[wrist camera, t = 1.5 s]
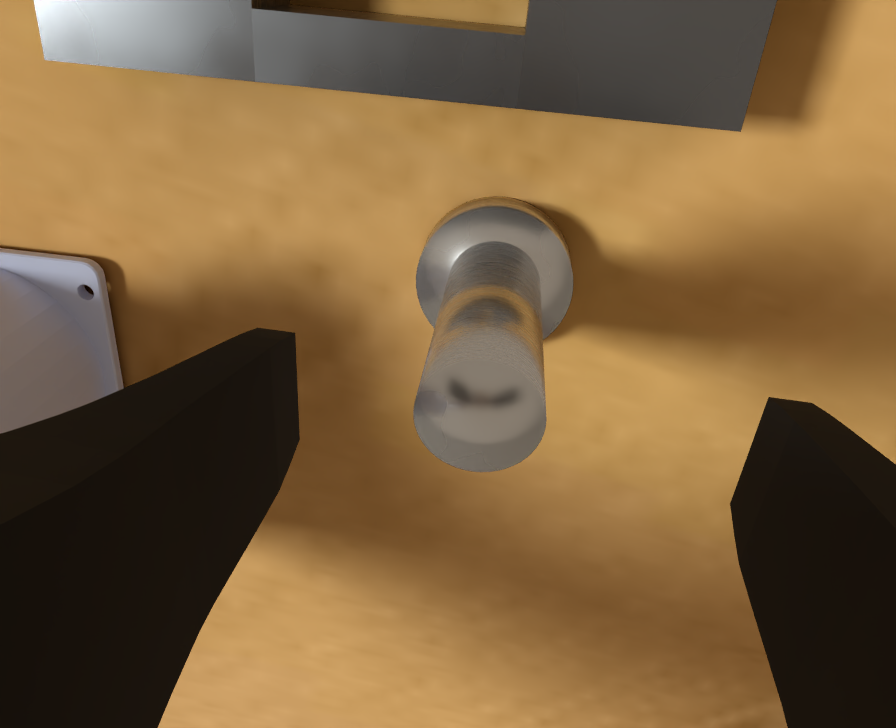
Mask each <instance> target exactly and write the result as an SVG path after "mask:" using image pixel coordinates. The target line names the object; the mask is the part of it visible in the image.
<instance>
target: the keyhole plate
mask: <svg viewBox="0 0 896 728" xmlns="http://www.w3.org/2000/svg"><path fill="white" fill-rule="evenodd" d="M776 2H777V0H529V3H528V11H527V19H526V27H515V26H505V25H494V24H484V23H474V22H464V21H453V20H443V19H433V18H423V17H412V16H402V15H392V14H382V13H371V12H361V11H351V10H341V9H330V8H320V7H310V6H300V5H290V1H289V0H34V4H35V10H36V15H37V21H38V26H39V32H40V37H41V42H42V48H43V53H44V59H45V60H50V61H60V62H70V63H79V64H89V65H99V66H108V67H118V68H128V69H138V70H147V71H157V72H167V73H176V74H186V75H196V76H205V77H215V78H225V79H235V80H244V81H254V82H264V83H273V84H283V85H293V86H302V87H312V88H322V89H332V90H341V91H351V92H361V93H370V94H380V95H390V96H400V97H409V98H419V99H429V100H438V101H448V102H458V103H467V104H477V105H487V106H497V107H506V108H516V109H526V110H535V111H545V112H555V113H565V114H574V115H584V116H594V117H603V118H613V119H623V120H632V121H642V122H652V123H662V124H671V125H681V126H691V127H700V128H710V129H720V130H730V131H739V132H741V128H742V125H743V121H744V118H745V114H746V110H747V107H748V103H749V100H750V96H751V92H752V89H753V85H754V82H755V78H756V74H757V71H758V67H759V64H760V60H761V56H762V53H763V49H764V45H765V42H766V38H767V35H768V31H769V27H770V24H771V20H772V17H773V13H774V9H775V6H776Z"/></svg>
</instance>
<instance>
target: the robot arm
mask: <svg viewBox="0 0 896 728" xmlns="http://www.w3.org/2000/svg"><path fill="white" fill-rule="evenodd" d="M84 285H87V286H89V287H90V288H91V289H92V290H93V292H94V295H92V294H89V293H88V292H87V291H86V289H85V287H84ZM299 439H300V438H299V414H298V391H297V367H296V343H295V333H292V332H284V331H277V330H270V329H262V328H256V329H253V330H250V331H248V332H245V333H243V334H240V335H238V336H236V337H233V338H231V339H229V340H227V341H225V342H223V343H221V344H219V345H216V346H214V347H212V348H210V349H208V350H206V351H204V352H202V353H200V354H198V355H196V356H194V357H191V358H189V359H187V360H185V361H183V362H181V363H179V364H177V365H175V366H173V367H171V368H168V369H166V370H164V371H162V372H160V373H158V374H156V375H154V376H151V377H149V378H147V379H144V380H142V381H140V382H137V383H135V384H133V385H130V386H128V387H126V388H124V387H123V381H122V375H121V369H120V363H119V357H118V351H117V345H116V339H115V333H114V327H113V321H112V315H111V309H110V304H109V298H108V292H107V286H106V280H105V275H104V272H103V269H102V268H101V267H100V265H99V264H98V263H96V262H95V261H93V260H91V259H88V258H82V257H73V256H65V255H56V254H47V253H39V252H30V251H22V250H13V249H4V248H0V728H158V725H159V723H160V720H161V718H162V716H163V713H164V711H165V708H166V706H167V704H168V701H169V699H170V697H171V694H172V692H173V690H174V687H175V685H176V683H177V681H178V678H179V676H180V674H181V672H182V669H183V667H184V665H185V663H186V661H187V658H188V656H189V654H190V652H191V649H192V647H193V645H194V643H195V640H196V638H197V636H198V634H199V632H200V630H201V628H202V626H203V624H204V622H205V620H206V618H207V616H208V614H209V612H210V610H211V609H212V607H213V605H214V603H215V601H216V600H217V598H218V596H219V594H220V593H221V591H222V589H223V588H224V586H225V584H226V582H227V581H228V579H229V577H230V576H231V574H232V572H233V570H234V569H235V567H236V565H237V563H238V562H239V560H240V558H241V557H242V555H243V553H244V551H245V550H246V548H247V546H248V545H249V543H250V541H251V539H252V538H253V536H254V534H255V533H256V531H257V529H258V527H259V526H260V524H261V522H262V520H263V518H264V517H265V515H266V513H267V511H268V510H269V508H270V506H271V504H272V503H273V501H274V499H275V497H276V495H277V494H278V492H279V490H280V487H281V485H282V483H283V480H284V478H285V475H286V473H287V471H288V468H289V466H290V463H291V460H292V458H293V455H294V453H295V450H296V447H297V445H298V442H299ZM730 506H731V513H732V521H733V529H734V536H735V542H736V548H737V554H738V560H739V565H740V568H741V572H742V576H743V579H744V582H745V586H746V589H747V592H748V596H749V599H750V603H751V606H752V609H753V613H754V616H755V619H756V622H757V626H758V629H759V632H760V635H761V638H762V642H763V645H764V648H765V651H766V655H767V658H768V661H769V664H770V668H771V671H772V674H773V677H774V681H775V684H776V687H777V690H778V694H779V697H780V700H781V703H782V707H783V711H784V715H785V719H786V722H787V726H788V728H896V465H895V464H894V463H893V462H892V461H890V460H889V459H888V458H886V457H885V456H884V455H883V454H881V453H880V452H879V451H877V450H876V449H875V448H873V447H872V446H871V445H870V444H868V443H867V442H866V441H864V440H863V439H862V438H861V437H859V436H858V435H857V434H855V433H854V432H853V431H851V430H850V429H849V428H847V427H846V426H845V425H843V424H842V423H841V422H839V421H838V420H837V419H835V418H834V417H833V416H831V415H830V414H828V413H827V412H825V411H824V410H822V409H821V408H819V407H817V406H816V405H814V404H813V403H808V402H800V401H793V400H786V399H778V398H771V397H769V398H768V401H767V403H766V406H765V409H764V412H763V414H762V417H761V420H760V423H759V426H758V428H757V431H756V434H755V437H754V439H753V442H752V445H751V448H750V450H749V453H748V456H747V459H746V462H745V464H744V467H743V470H742V473H741V475H740V478H739V481H738V484H737V486H736V489H735V492H734V495H733V497H732V500H731V503H730Z"/></svg>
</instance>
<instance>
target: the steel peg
mask: <svg viewBox="0 0 896 728" xmlns="http://www.w3.org/2000/svg"><path fill="white" fill-rule="evenodd" d="M416 288H417V295H418V299H419V302H420V306H421V308H422V310H423V312H424V314H425V316H426V318H427V319H428V321H429V322H430V324H431V325H432V326H433V327H434V332H433V336H432V340H431V344H430V347H429V351H428V355H427V359H426V362H425V366H424V370H423V374H422V377H421V381H420V385H419V389H418V392H417V396H416V400H415V404H414V423H415V427H416V430H417V433H418V435H419V437H420V439H421V441H422V442H423V444H424V445H425V446H426V447H427V448H428V450H429V451H430V452H431V453H433V454H434V455H435V456H436V457H437V458H439V459H440V460H442V461H444V462H445V463H447V464H449V465H451V466H454V467H456V468H460V469H463V470H468V471H474V472H491V471H498V470H502V469H506V468H508V467H511V466H514V465H515V464H517V463H519V462H521V461H522V460H524V459H525V458H527V457H528V456H529V455H530V454H531V453H532V452H533V451H534V450H535V449H536V447H537V446H538V444H539V443H540V441H541V439H542V437H543V434H544V431H545V427H546V400H545V377H544V354H543V340H544V339H545V338H546V337H548V336H549V335H550V334H551V333H552V332H553V331H554V330H555V329H556V328H557V326H558V325H559V324H560V322H561V321H562V319H563V318H564V316H565V314H566V312H567V310H568V307H569V305H570V302H571V298H572V293H573V272H572V266H571V259H570V254H569V249H568V246H567V243H566V241H565V239H564V237H563V235H562V233H561V231H560V230H559V228H558V227H557V225H556V224H555V223H554V222H553V221H552V220H551V219H550V218H549V217H548V216H547V215H546V214H545V213H543V212H542V211H541V210H539V209H537V208H536V207H534V206H532V205H530V204H528V203H526V202H524V201H520V200H517V199H514V198H508V197H495V196H494V197H483V198H479V199H474V200H471V201H469V202H466V203H464V204H462V205H460V206H458V207H456V208H454V209H453V210H451V211H450V212H449V213H447V214H446V215H445V216H444V217H443V218H442V219H441V220H440V221H439V222H438V223H437V225H436V226H435V227H434V229H433V230H432V232H431V233H430V235H429V237H428V239H427V242H426V244H425V247H424V249H423V252H422V254H421V257H420V260H419V264H418V267H417V274H416Z"/></svg>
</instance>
